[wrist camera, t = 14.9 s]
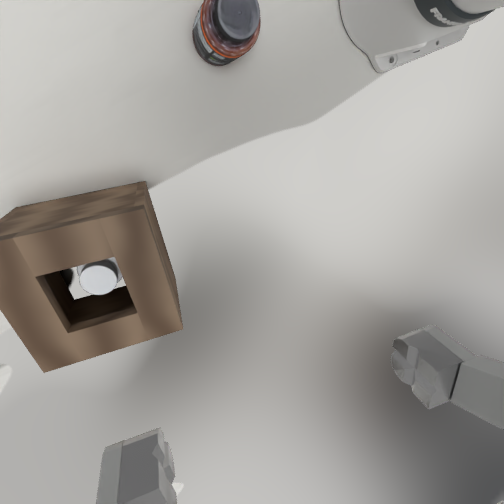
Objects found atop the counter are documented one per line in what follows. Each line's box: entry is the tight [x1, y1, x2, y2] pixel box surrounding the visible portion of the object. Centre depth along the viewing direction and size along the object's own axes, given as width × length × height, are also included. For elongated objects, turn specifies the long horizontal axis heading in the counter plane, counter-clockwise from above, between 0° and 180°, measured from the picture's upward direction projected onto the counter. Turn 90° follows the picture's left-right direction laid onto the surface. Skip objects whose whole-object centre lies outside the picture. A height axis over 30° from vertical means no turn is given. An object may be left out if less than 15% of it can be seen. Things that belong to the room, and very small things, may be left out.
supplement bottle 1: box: [77, 257, 123, 295], centre depth 38 cm, size 5×5×10 cm
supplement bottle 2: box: [193, 0, 260, 66], centre depth 31 cm, size 6×6×11 cm
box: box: [0, 181, 183, 373], centre depth 37 cm, size 16×16×13 cm
